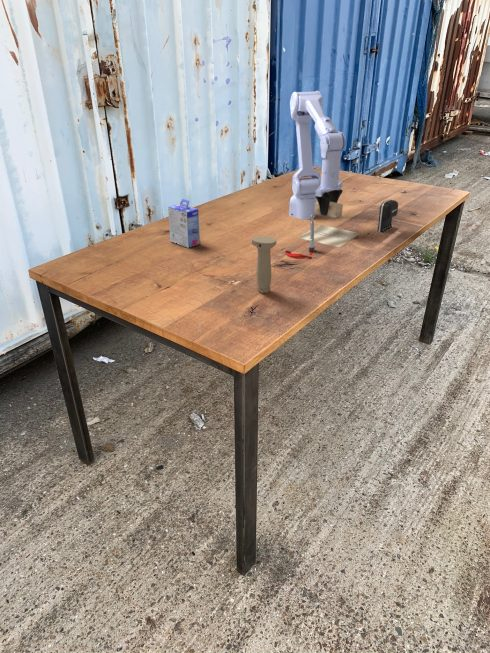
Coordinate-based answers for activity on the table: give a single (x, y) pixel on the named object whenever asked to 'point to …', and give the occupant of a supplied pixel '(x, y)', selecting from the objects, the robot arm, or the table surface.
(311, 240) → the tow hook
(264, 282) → the handle
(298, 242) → the table surface
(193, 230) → the ink cartridge box
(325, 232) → the beige square mat
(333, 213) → the block
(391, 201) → the battery charger
